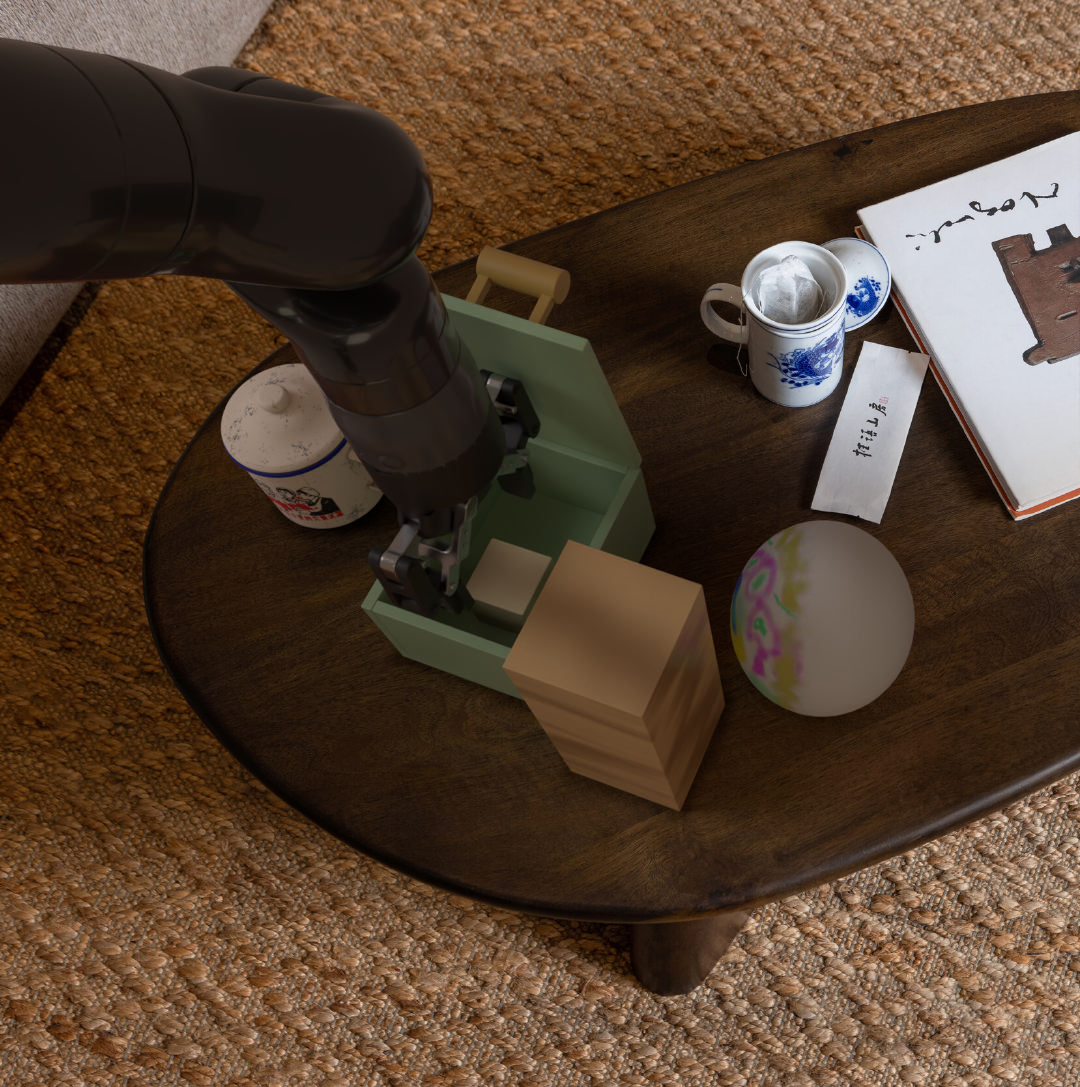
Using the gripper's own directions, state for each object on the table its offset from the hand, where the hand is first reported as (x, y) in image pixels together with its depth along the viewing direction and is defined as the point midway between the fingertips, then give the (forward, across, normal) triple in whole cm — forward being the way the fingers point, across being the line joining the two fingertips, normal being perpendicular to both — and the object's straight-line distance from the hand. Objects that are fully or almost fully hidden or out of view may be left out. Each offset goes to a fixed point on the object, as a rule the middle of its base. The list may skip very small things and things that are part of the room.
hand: (489, 546), depth 76 cm
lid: (-7, -8, 0) cm, 11 cm away
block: (+9, 0, 0) cm, 9 cm away
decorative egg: (+10, -4, +21) cm, 24 cm away
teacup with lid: (+10, -4, -17) cm, 20 cm away
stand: (+10, +6, +12) cm, 17 cm away
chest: (+10, -2, 0) cm, 10 cm away
